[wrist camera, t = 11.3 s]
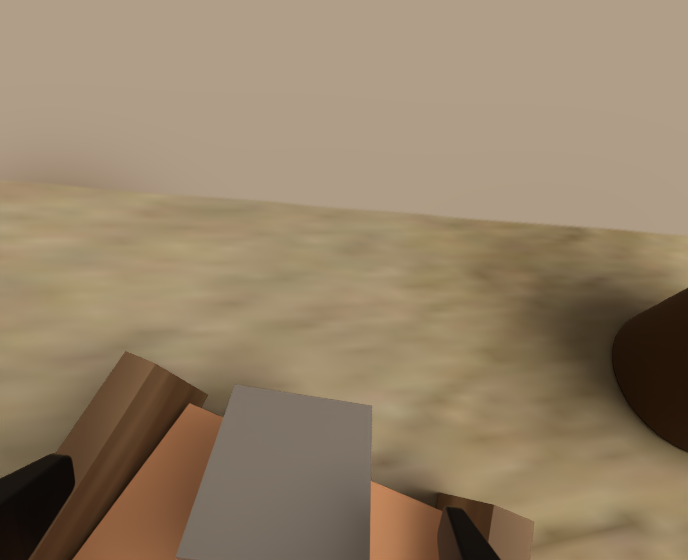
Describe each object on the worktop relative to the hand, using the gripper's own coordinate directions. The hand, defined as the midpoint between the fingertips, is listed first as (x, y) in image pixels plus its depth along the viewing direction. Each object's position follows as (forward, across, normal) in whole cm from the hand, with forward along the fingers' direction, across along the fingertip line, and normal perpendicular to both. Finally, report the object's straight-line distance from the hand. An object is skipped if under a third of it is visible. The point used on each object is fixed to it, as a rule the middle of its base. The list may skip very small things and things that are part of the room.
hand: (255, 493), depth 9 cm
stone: (+5, 0, +8) cm, 9 cm away
